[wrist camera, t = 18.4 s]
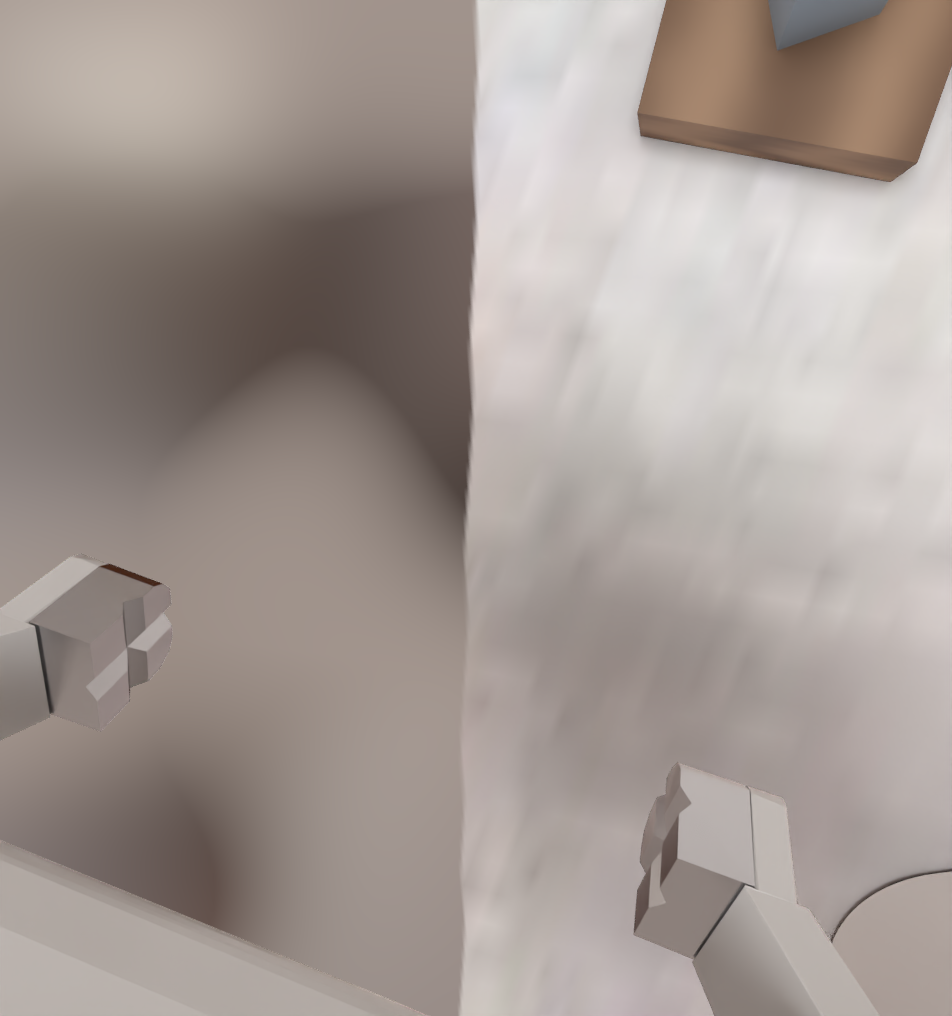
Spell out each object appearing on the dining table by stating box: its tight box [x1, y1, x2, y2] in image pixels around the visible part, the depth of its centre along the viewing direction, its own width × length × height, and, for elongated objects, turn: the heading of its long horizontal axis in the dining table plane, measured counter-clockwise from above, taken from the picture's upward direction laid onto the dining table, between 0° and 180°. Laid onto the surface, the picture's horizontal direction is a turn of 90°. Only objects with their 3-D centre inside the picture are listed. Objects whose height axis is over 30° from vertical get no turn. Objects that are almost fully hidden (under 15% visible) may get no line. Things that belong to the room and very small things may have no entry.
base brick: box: [638, 0, 952, 182], centre depth 33 cm, size 12×12×4 cm
